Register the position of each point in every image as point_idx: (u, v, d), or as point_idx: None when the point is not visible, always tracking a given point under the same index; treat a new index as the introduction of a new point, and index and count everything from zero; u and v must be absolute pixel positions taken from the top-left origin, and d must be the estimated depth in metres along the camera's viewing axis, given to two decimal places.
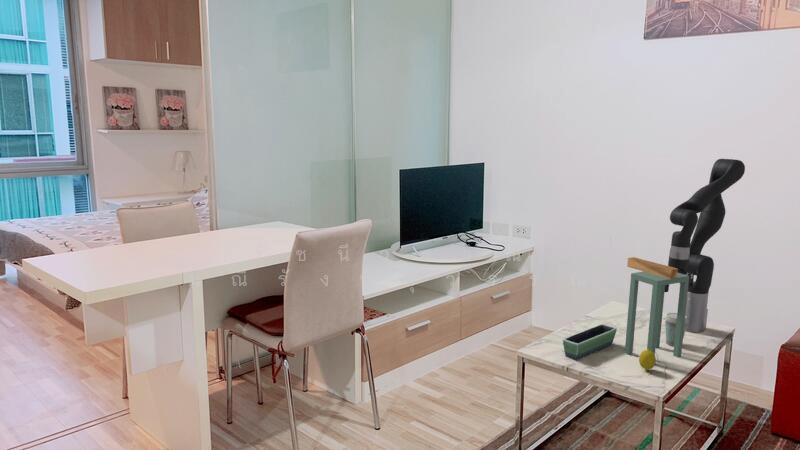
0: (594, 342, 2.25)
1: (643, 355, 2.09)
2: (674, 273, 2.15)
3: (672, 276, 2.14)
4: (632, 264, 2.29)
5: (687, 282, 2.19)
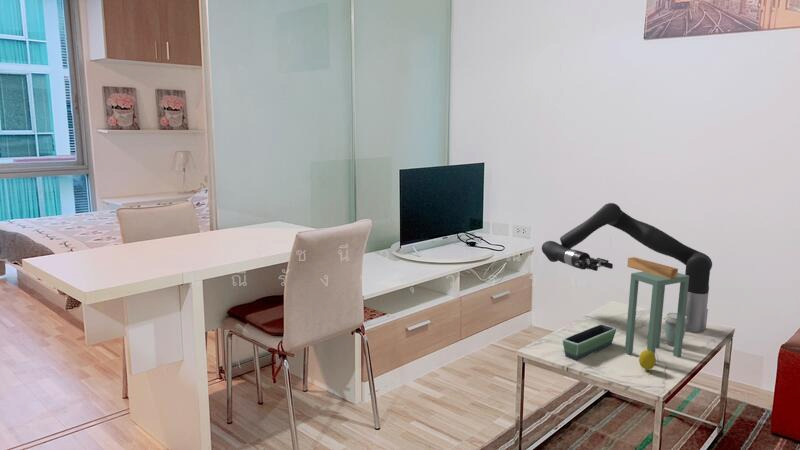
0: (593, 342, 2.25)
1: (643, 355, 2.09)
2: (674, 273, 2.15)
3: (672, 276, 2.14)
4: (632, 264, 2.29)
5: (687, 282, 2.19)
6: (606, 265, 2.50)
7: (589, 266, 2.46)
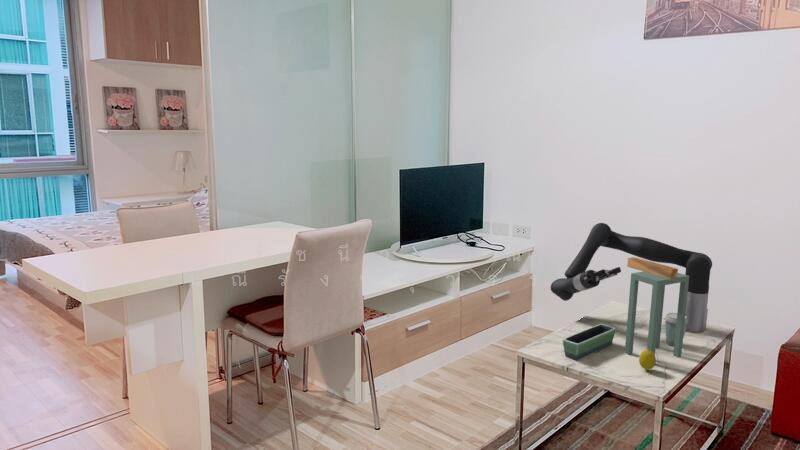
0: (593, 342, 2.25)
1: (643, 355, 2.09)
2: (674, 273, 2.15)
3: (672, 276, 2.14)
4: (632, 264, 2.29)
5: (687, 282, 2.19)
6: (614, 271, 2.45)
7: (597, 273, 2.41)
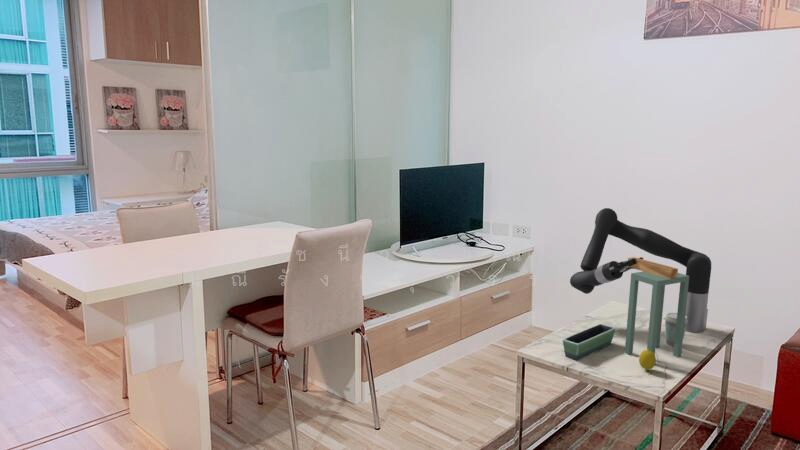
0: (593, 342, 2.25)
1: (643, 355, 2.09)
2: (674, 273, 2.14)
3: (672, 276, 2.14)
4: None
5: (687, 282, 2.19)
6: None
7: (627, 263, 2.30)
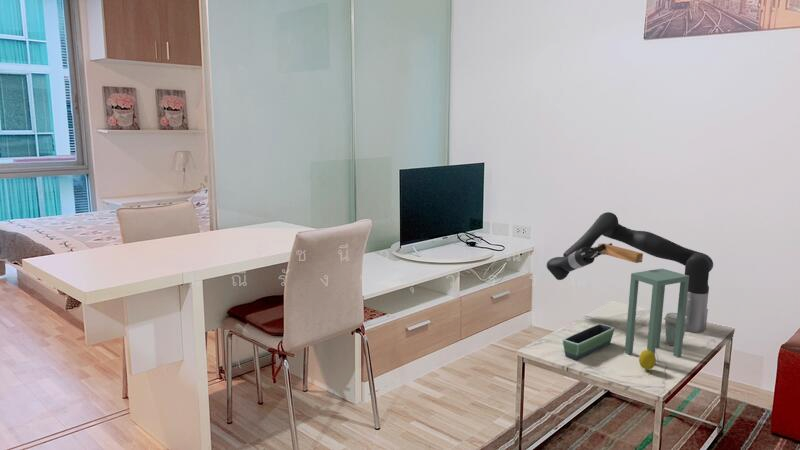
0: (593, 342, 2.25)
1: (643, 355, 2.09)
2: (639, 257, 2.28)
3: (637, 260, 2.28)
4: None
5: (687, 282, 2.19)
6: None
7: (597, 248, 2.43)
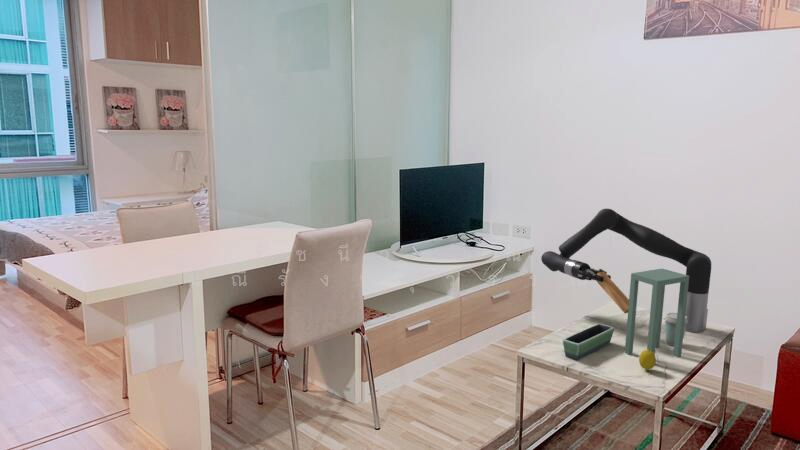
0: (593, 342, 2.25)
1: (643, 355, 2.09)
2: None
3: (627, 311, 2.34)
4: None
5: (687, 282, 2.19)
6: None
7: (595, 277, 2.46)
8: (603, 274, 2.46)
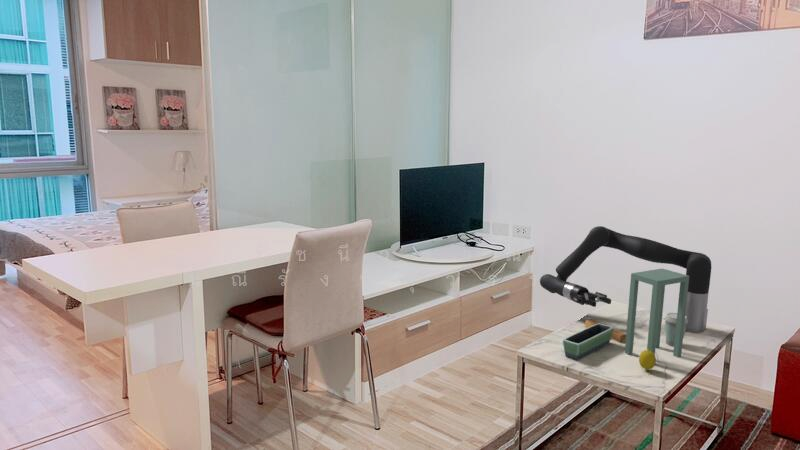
0: (593, 342, 2.25)
1: (643, 355, 2.09)
2: (623, 338, 2.38)
3: (621, 341, 2.38)
4: (589, 326, 2.53)
5: (687, 282, 2.19)
6: (604, 300, 2.51)
7: (587, 302, 2.47)
8: (591, 320, 2.55)
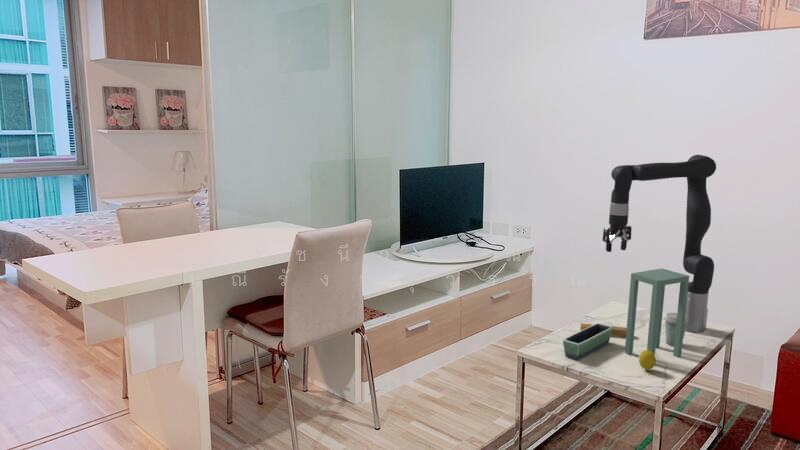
0: (593, 342, 2.25)
1: (643, 355, 2.09)
2: None
3: None
4: None
5: (687, 282, 2.19)
6: (622, 243, 2.51)
7: (607, 244, 2.47)
8: (584, 324, 2.49)
